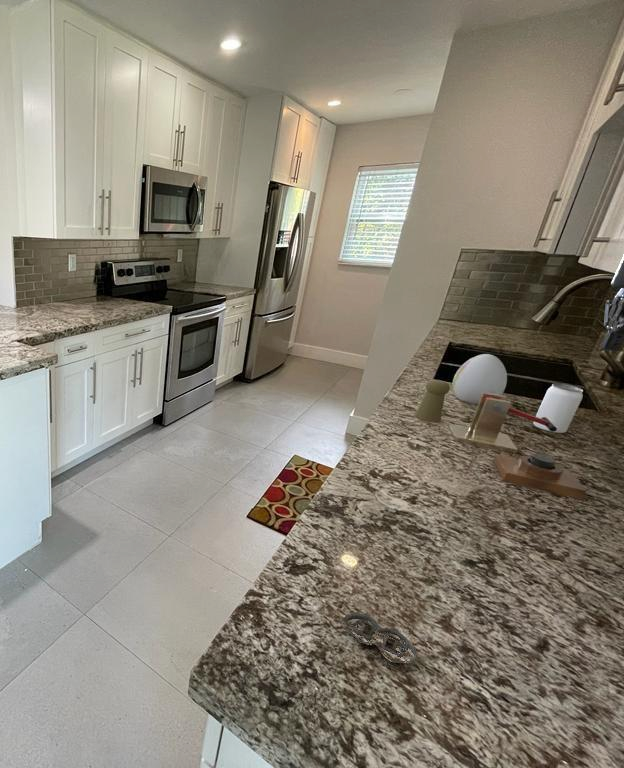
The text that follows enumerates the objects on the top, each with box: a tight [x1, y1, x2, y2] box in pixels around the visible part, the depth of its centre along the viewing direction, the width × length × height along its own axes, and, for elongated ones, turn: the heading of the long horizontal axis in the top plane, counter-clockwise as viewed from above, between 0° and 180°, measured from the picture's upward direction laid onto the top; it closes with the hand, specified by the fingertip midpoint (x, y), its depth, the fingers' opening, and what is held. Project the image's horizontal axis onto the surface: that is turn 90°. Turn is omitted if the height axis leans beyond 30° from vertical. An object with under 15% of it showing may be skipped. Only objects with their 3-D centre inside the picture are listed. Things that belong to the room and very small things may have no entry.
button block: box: [492, 453, 587, 501], centre depth 87 cm, size 12×9×4 cm
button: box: [529, 453, 557, 469], centre depth 86 cm, size 4×4×2 cm
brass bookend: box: [447, 392, 519, 454], centre depth 102 cm, size 12×9×12 cm
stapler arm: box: [484, 396, 557, 431], centre depth 99 cm, size 13×6×2 cm, turn 60°
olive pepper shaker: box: [414, 379, 451, 423], centre depth 114 cm, size 6×6×11 cm
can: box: [532, 383, 584, 434], centre depth 109 cm, size 6×6×12 cm
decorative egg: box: [452, 353, 508, 406], centre depth 126 cm, size 12×12×15 cm
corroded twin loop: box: [344, 612, 419, 664], centre depth 52 cm, size 5×8×1 cm, turn 48°
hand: (609, 349), depth 85 cm, fingers closed
